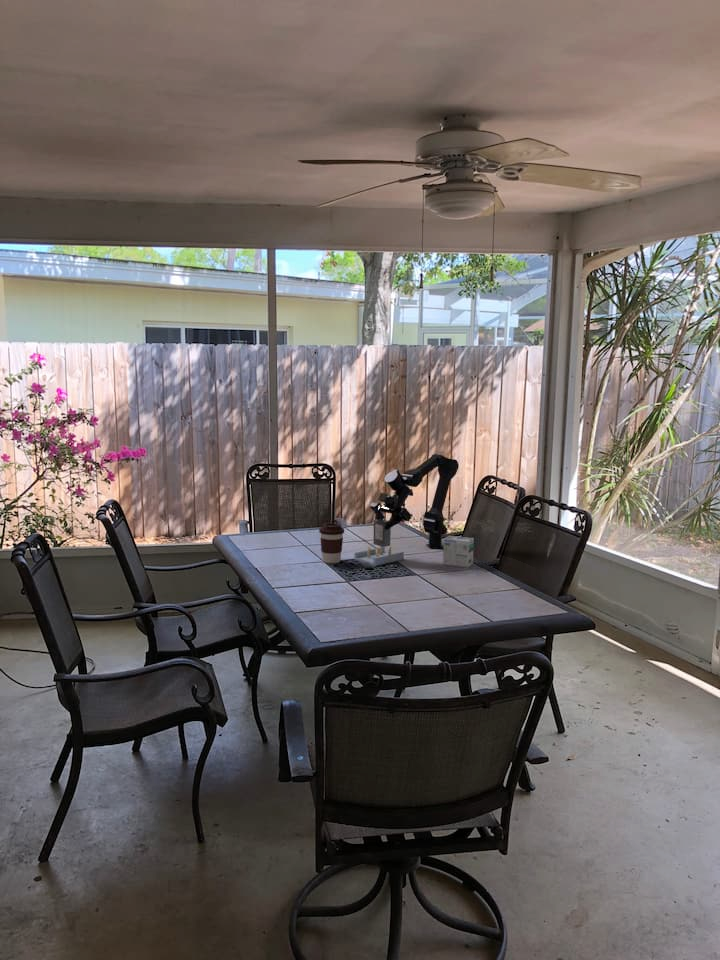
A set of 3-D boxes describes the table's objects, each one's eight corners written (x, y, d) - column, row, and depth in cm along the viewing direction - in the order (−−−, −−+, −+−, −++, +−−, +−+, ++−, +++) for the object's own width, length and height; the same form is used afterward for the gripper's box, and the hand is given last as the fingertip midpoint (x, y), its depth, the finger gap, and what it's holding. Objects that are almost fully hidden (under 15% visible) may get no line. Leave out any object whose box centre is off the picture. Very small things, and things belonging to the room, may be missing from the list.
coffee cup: (327, 566, 297) (328, 528, 294) (314, 560, 304) (314, 523, 302) (348, 562, 302) (349, 525, 300) (334, 557, 310) (335, 521, 308)
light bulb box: (473, 564, 304) (474, 537, 302) (468, 568, 297) (469, 541, 296) (447, 560, 308) (448, 534, 306) (442, 564, 302) (443, 538, 300)
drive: (379, 542, 309) (379, 518, 308) (390, 545, 305) (390, 521, 303) (373, 544, 307) (373, 520, 305) (384, 547, 302) (384, 522, 301)
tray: (382, 553, 317) (383, 541, 317) (403, 559, 309) (403, 547, 308) (354, 559, 307) (354, 547, 306) (375, 565, 298) (375, 553, 297)
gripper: (373, 482, 311) (353, 512, 305) (407, 488, 298) (387, 519, 292) (385, 499, 318) (366, 528, 312) (419, 505, 305) (400, 536, 299)
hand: (379, 528), depth 304 cm, fingers closed on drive, 6 cm apart
